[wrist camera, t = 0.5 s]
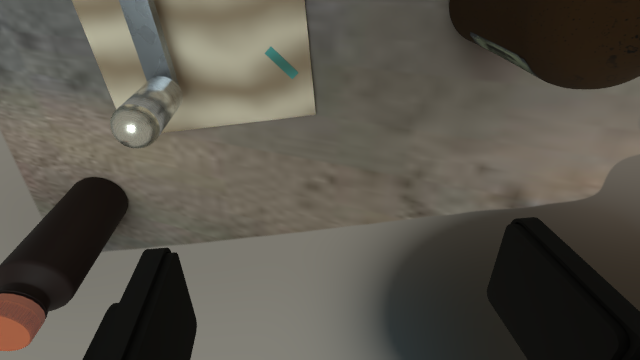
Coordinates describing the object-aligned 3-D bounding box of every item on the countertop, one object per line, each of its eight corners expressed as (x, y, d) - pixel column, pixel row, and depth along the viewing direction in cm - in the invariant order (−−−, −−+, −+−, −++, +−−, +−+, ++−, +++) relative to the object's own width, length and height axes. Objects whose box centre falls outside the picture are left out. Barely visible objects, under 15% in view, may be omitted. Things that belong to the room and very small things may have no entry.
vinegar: (93, 224, 49) (-8, 365, 32) (60, 185, 45) (-73, 319, 28) (139, 211, 48) (61, 346, 31) (109, 169, 45) (4, 297, 28)
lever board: (19, -147, 29) (-5, -157, 27) (286, -171, 30) (287, -184, 27) (131, 132, 42) (121, 143, 40) (314, 111, 43) (317, 120, 41)
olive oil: (466, -76, 35) (759, -135, 13) (559, -51, 37) (946, -68, 15) (428, 38, 40) (596, 125, 19) (512, 55, 42) (750, 151, 21)
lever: (71, -124, 28) (-43, -172, 18) (129, -130, 28) (46, -180, 18) (153, 108, 38) (108, 159, 28) (194, 103, 38) (164, 152, 28)
